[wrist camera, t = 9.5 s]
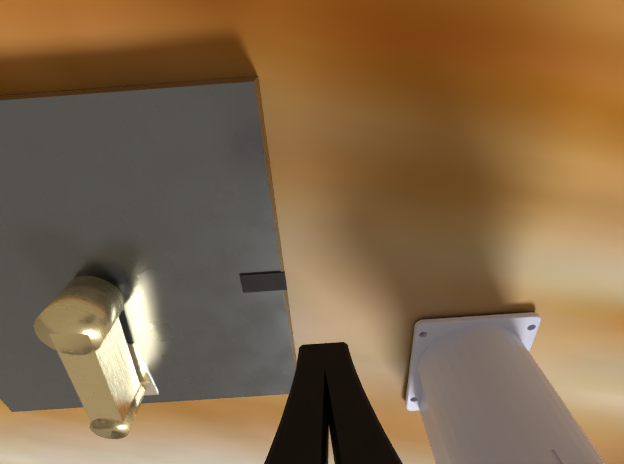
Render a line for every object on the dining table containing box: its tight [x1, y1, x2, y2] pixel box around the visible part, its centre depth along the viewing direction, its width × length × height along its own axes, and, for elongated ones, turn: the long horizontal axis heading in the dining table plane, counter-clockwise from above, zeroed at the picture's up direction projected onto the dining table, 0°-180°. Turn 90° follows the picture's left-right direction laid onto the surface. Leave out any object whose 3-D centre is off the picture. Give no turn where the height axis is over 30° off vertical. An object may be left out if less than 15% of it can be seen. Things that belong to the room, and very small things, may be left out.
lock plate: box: [0, 76, 297, 412], centre depth 20 cm, size 20×20×2 cm
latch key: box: [34, 276, 145, 439], centre depth 20 cm, size 11×3×2 cm, turn 177°
